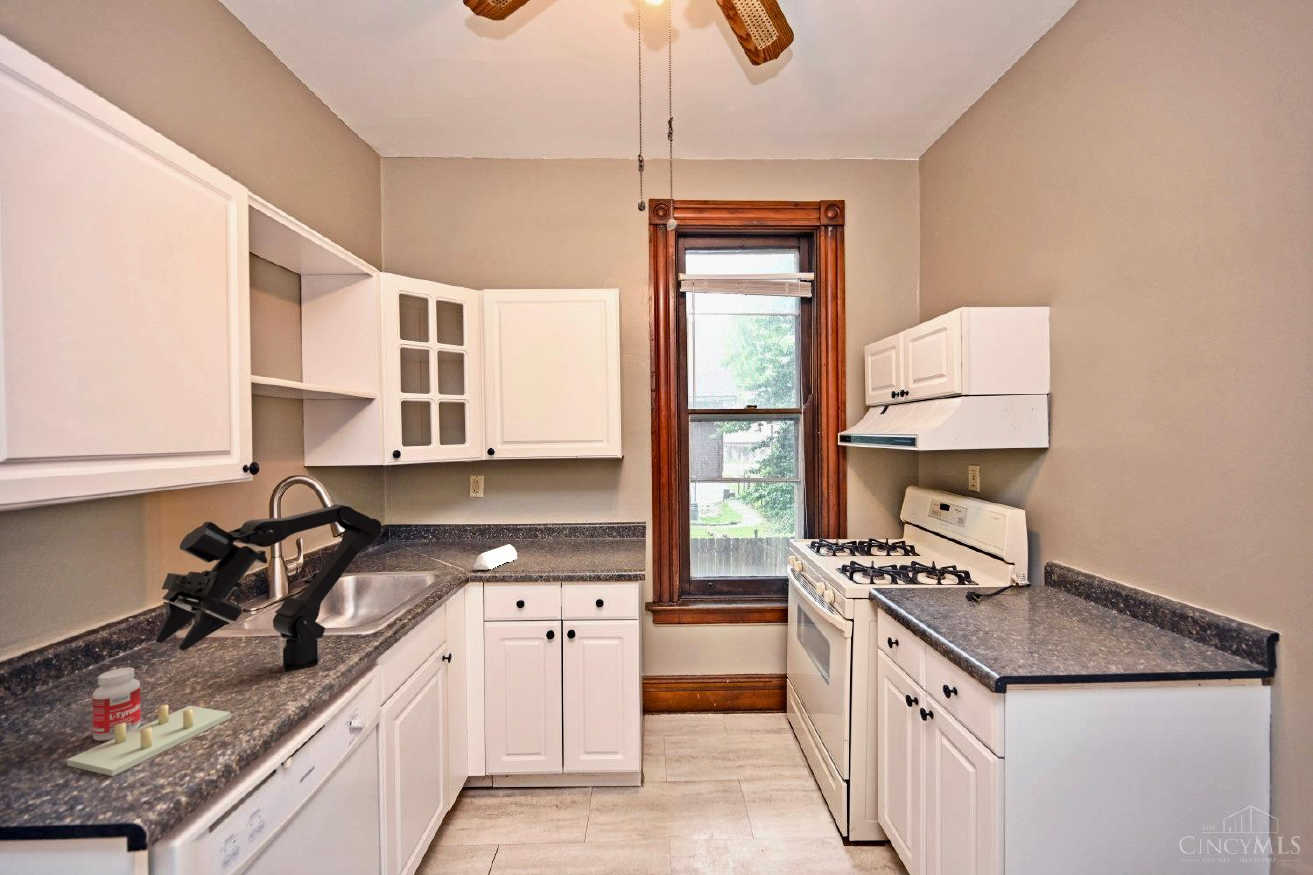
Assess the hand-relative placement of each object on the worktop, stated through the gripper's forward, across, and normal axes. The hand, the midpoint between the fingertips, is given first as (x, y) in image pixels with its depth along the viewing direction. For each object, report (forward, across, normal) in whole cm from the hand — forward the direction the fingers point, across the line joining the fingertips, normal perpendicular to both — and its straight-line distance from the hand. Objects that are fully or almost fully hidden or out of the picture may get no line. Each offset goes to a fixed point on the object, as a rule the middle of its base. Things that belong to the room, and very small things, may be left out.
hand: (169, 645), depth 103 cm
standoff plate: (+14, +9, +4) cm, 17 cm away
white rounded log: (-65, -26, +100) cm, 122 cm away
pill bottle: (+15, 0, +3) cm, 15 cm away
